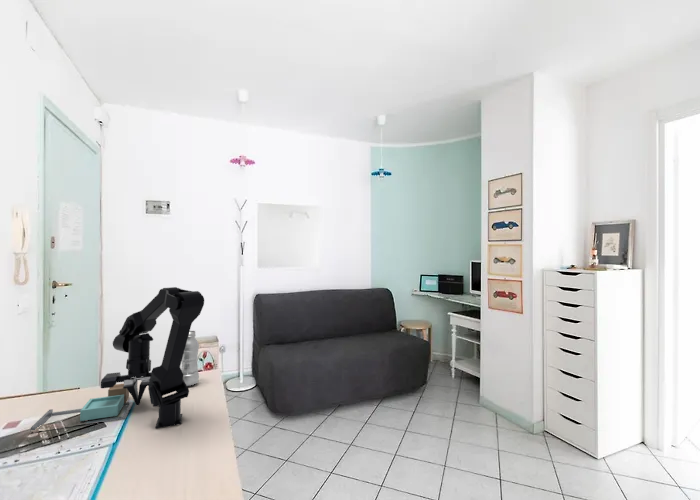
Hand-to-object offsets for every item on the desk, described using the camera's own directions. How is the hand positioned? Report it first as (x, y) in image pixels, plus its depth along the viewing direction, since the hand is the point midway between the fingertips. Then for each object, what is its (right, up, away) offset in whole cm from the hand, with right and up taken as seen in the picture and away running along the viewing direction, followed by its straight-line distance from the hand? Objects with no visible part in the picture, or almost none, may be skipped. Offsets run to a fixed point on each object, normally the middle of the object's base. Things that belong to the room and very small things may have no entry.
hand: (138, 404), depth 108 cm
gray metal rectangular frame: (-12, -1, -5) cm, 13 cm away
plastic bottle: (+6, -2, +21) cm, 22 cm away
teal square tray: (-8, -1, -4) cm, 9 cm away
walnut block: (-10, -2, +6) cm, 12 cm away
